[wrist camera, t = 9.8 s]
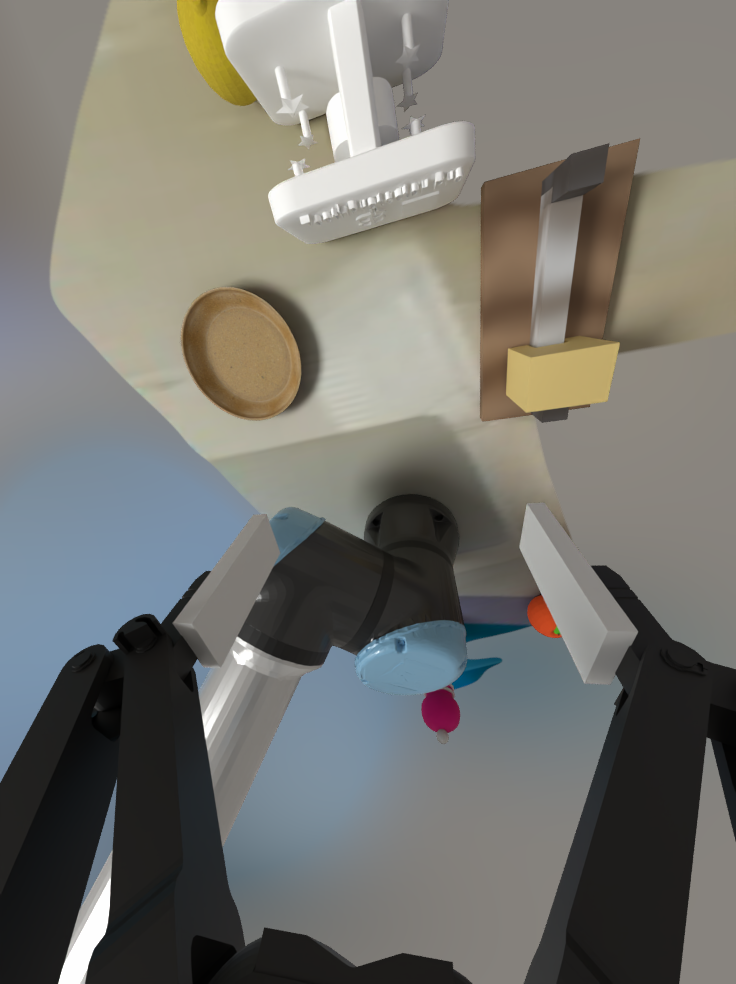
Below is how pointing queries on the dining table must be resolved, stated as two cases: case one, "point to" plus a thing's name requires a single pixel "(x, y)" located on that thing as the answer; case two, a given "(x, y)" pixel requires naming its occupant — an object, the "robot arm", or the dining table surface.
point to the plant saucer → (241, 353)
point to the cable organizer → (349, 107)
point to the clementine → (542, 618)
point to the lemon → (211, 51)
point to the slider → (561, 373)
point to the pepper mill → (441, 712)
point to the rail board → (519, 262)
